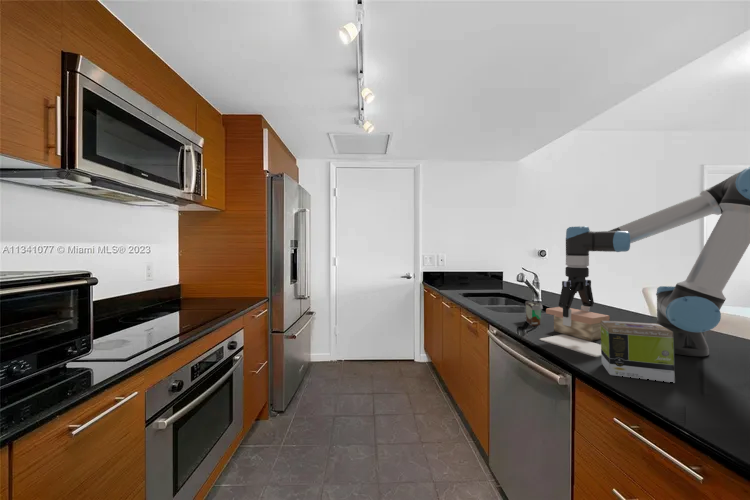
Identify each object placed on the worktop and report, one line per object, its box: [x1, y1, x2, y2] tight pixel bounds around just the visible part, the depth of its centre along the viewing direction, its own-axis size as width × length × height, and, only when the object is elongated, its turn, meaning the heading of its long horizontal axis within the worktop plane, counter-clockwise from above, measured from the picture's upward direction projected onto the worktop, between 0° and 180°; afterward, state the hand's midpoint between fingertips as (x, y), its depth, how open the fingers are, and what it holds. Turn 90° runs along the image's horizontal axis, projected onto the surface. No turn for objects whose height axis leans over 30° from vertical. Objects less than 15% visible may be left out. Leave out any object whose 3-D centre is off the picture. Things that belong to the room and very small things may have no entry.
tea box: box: [600, 320, 676, 384], centre depth 93 cm, size 15×10×15 cm, turn 65°
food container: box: [525, 300, 544, 327], centre depth 152 cm, size 12×6×10 cm, turn 168°
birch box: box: [553, 315, 601, 342], centre depth 132 cm, size 16×7×7 cm, turn 24°
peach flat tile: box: [545, 306, 611, 324], centre depth 119 cm, size 18×10×3 cm, turn 24°
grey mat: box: [539, 333, 601, 358], centre depth 119 cm, size 22×14×1 cm, turn 24°
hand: (576, 324), depth 119 cm, fingers closed on peach flat tile, 10 cm apart
